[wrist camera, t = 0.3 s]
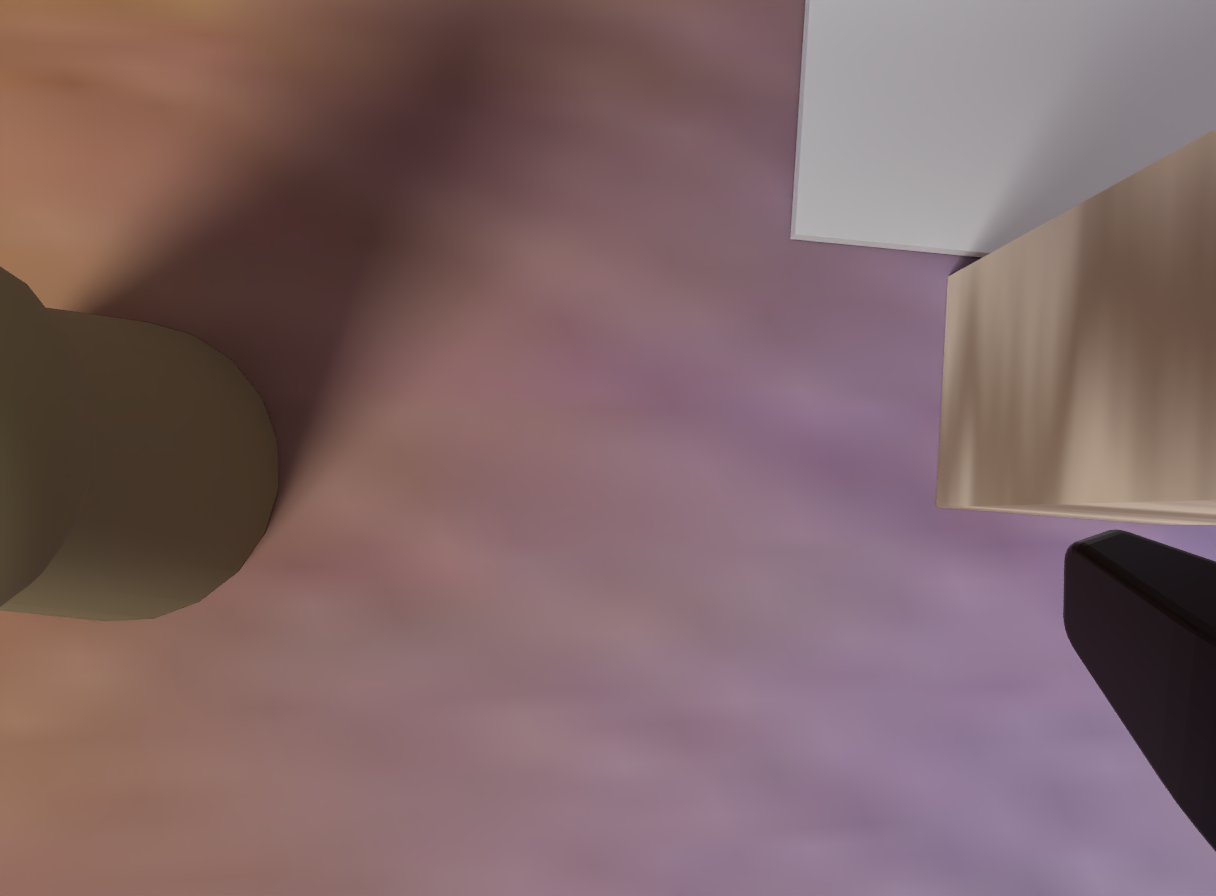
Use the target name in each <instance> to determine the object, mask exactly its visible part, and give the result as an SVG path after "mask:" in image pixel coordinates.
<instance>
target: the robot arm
mask: <svg viewBox="0 0 1216 896" xmlns="http://www.w3.org/2000/svg"><path fill="white" fill-rule="evenodd" d="M1063 618H1064V625H1065V630H1066V633H1067V636H1068V638H1069V640H1070V642H1071V644H1072V646H1073V648H1074V650H1075V651H1076V653H1077V654H1078V656H1079V657H1080V659H1081V660H1082V662H1083V663H1084V665H1085V666H1086V668H1087V669H1088V671H1089V672H1090V674H1091V675H1092V677H1093V678H1094V680H1095V681H1096V683H1097V684H1098V686H1099V688H1100V689H1101V691H1102V692H1103V694H1104V695H1105V697H1106V698H1107V700H1108V701H1109V703H1110V704H1111V706H1112V707H1113V709H1114V710H1115V712H1116V713H1117V715H1118V716H1119V718H1120V719H1121V721H1122V722H1123V724H1124V725H1125V727H1126V728H1127V730H1128V731H1129V733H1130V734H1131V736H1132V737H1133V739H1134V740H1135V742H1136V743H1137V745H1138V747H1139V748H1140V750H1141V751H1142V753H1143V754H1144V756H1145V757H1146V759H1147V760H1148V762H1149V763H1150V765H1151V766H1152V768H1153V769H1154V771H1155V772H1156V774H1157V775H1158V777H1159V778H1160V780H1161V781H1162V783H1163V784H1164V785H1165V787H1166V788H1167V790H1168V791H1169V793H1170V794H1171V795H1172V797H1173V798H1174V800H1175V801H1176V803H1177V804H1178V805H1179V806H1180V808H1181V809H1182V810H1183V812H1184V813H1185V814H1186V815H1187V817H1188V818H1189V819H1190V821H1191V822H1192V823H1193V824H1194V826H1195V827H1196V828H1197V829H1198V831H1199V832H1200V833H1201V834H1202V836H1203V837H1204V838H1205V839H1206V840H1207V842H1208V843H1209V844H1210V845H1211V846H1212V848H1213V849H1214V850H1215V851H1216V562H1215V561H1212V560H1209V559H1206V558H1203V557H1200V556H1197V555H1194V554H1191V553H1188V552H1186V551H1183V550H1180V549H1177V548H1174V547H1171V546H1168V545H1165V544H1162V543H1159V542H1156V541H1153V540H1150V539H1147V538H1144V537H1141V536H1138V535H1136V534H1133V533H1130V532H1126V531H1122V530H1109V531H1106V532H1103V533H1100V534H1097V535H1094V536H1091V537H1088V538H1086V539H1083V540H1080V541H1077V542H1074V543H1073V544H1072V545H1070V546H1069V548H1068V549H1067V552H1066V554H1065V560H1064V609H1063Z"/></svg>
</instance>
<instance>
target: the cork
mask: <svg viewBox="0 0 1216 896" xmlns="http://www.w3.org/2000/svg"><path fill="white" fill-rule="evenodd" d="M278 488H279V479H278V442H277V438H276V436H275V433H274V430H273V427H272V425H271V422H270V419H269V416H268V414H267V411H266V408H265V405H264V403H263V400H262V397H261V396H260V395H259V394H258V392H257V391H256V390H255V389H254V387H253V386H252V385H251V384H250V382H249V381H248V380H247V378H246V377H245V376H244V375H243V373H242V372H241V371H240V370H239V368H238V367H237V366H236V365H235V363H234V362H233V361H232V360H230V359H229V358H227V357H226V356H224V355H223V354H221V353H220V352H218V351H217V350H215V349H214V348H212V347H211V346H209V345H208V344H206V343H205V342H203V341H202V340H200V339H199V338H197V337H195V336H194V335H191V334H188V333H184V332H181V331H177V330H173V329H170V328H166V327H163V326H159V325H156V324H152V323H149V322H143V321H136V320H129V319H122V318H115V317H108V316H101V315H94V314H87V313H80V312H73V311H66V310H59V309H52V308H45V306H44V305H43V304H42V303H41V301H40V300H39V299H38V298H37V296H36V295H35V294H34V293H33V291H32V290H31V289H30V288H29V286H28V285H27V284H26V283H24V282H23V281H21V280H20V279H18V278H17V277H15V276H14V275H12V274H11V273H9V272H8V271H6V270H5V269H3V268H1V267H0V610H2V611H12V612H21V613H31V614H40V615H50V616H59V617H69V618H78V619H88V620H98V621H118V620H137V619H154V618H157V617H159V616H162V615H165V614H167V613H170V612H173V611H175V610H178V609H181V608H184V607H186V606H189V605H192V604H194V603H197V602H200V601H201V600H202V599H203V598H205V597H206V596H207V595H209V594H210V593H211V592H213V591H214V590H215V589H216V588H218V587H219V586H220V585H222V584H223V583H224V582H225V581H227V580H228V579H229V578H231V577H232V576H233V575H235V574H236V573H237V572H238V571H239V570H240V568H241V567H242V565H243V564H244V562H245V561H246V559H247V558H248V557H249V555H250V554H251V552H252V551H253V549H254V548H255V546H256V545H257V544H258V542H259V541H260V539H261V538H262V536H263V535H264V533H265V531H266V528H267V525H268V521H269V518H270V515H271V511H272V508H273V505H274V501H275V498H276V495H277V492H278Z"/></svg>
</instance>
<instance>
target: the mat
mask: <svg viewBox="0 0 1216 896" xmlns="http://www.w3.org/2000/svg"><path fill="white" fill-rule="evenodd" d="M1214 129H1216V0H806V1H805V16H804V32H803V48H802V64H801V80H800V96H799V112H798V128H797V144H796V159H795V175H794V191H793V207H792V223H791V239H796V240H806V241H817V242H827V243H837V244H848V245H858V246H869V247H879V248H889V249H900V250H910V251H921V252H931V253H941V254H952V255H962V256H972V257H984V256H986V255H988V254H990V253H992V252H993V251H995V250H997V249H999V248H1001V247H1003V246H1004V245H1006V244H1008V243H1010V242H1012V241H1013V240H1015V239H1017V238H1019V237H1021V236H1022V235H1024V234H1026V233H1028V232H1030V231H1031V230H1033V229H1035V228H1037V227H1039V226H1040V225H1042V224H1044V223H1046V222H1048V221H1050V220H1051V219H1053V218H1055V217H1057V216H1059V215H1060V214H1062V213H1064V212H1066V211H1068V210H1069V209H1071V208H1073V207H1075V206H1077V205H1078V204H1080V203H1082V202H1084V201H1086V200H1087V199H1089V198H1091V197H1093V196H1095V195H1096V194H1098V193H1100V192H1102V191H1104V190H1106V189H1107V188H1109V187H1111V186H1113V185H1115V184H1116V183H1118V182H1120V181H1122V180H1124V179H1125V178H1127V177H1129V176H1131V175H1133V174H1134V173H1136V172H1138V171H1140V170H1142V169H1143V168H1145V167H1147V166H1149V165H1151V164H1153V163H1154V162H1156V161H1158V160H1160V159H1162V158H1163V157H1165V156H1167V155H1169V154H1171V153H1172V152H1174V151H1176V150H1178V149H1180V148H1181V147H1183V146H1185V145H1187V144H1189V143H1190V142H1192V141H1194V140H1196V139H1198V138H1200V137H1201V136H1203V135H1205V134H1207V133H1209V132H1210V131H1212V130H1214Z"/></svg>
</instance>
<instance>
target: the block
mask: <svg viewBox="0 0 1216 896" xmlns="http://www.w3.org/2000/svg"><path fill="white" fill-rule="evenodd" d="M936 507H940V508H953V509H966V510H979V511H992V512H1005V513H1018V514H1031V515H1044V516H1057V517H1070V518H1083V519H1096V520H1109V521H1122V522H1135V523H1148V524H1179V525H1216V129H1214V130H1212V131H1210V132H1209V133H1207V134H1205V135H1203V136H1201V137H1200V138H1198V139H1196V140H1194V141H1192V142H1190V143H1189V144H1187V145H1185V146H1183V147H1181V148H1180V149H1178V150H1176V151H1174V152H1172V153H1171V154H1169V155H1167V156H1165V157H1163V158H1162V159H1160V160H1158V161H1156V162H1154V163H1153V164H1151V165H1149V166H1147V167H1145V168H1143V169H1142V170H1140V171H1138V172H1136V173H1134V174H1133V175H1131V176H1129V177H1127V178H1125V179H1124V180H1122V181H1120V182H1118V183H1116V184H1115V185H1113V186H1111V187H1109V188H1107V189H1106V190H1104V191H1102V192H1100V193H1098V194H1096V195H1095V196H1093V197H1091V198H1089V199H1087V200H1086V201H1084V202H1082V203H1080V204H1078V205H1077V206H1075V207H1073V208H1071V209H1069V210H1068V211H1066V212H1064V213H1062V214H1060V215H1059V216H1057V217H1055V218H1053V219H1051V220H1050V221H1048V222H1046V223H1044V224H1042V225H1040V226H1039V227H1037V228H1035V229H1033V230H1031V231H1030V232H1028V233H1026V234H1024V235H1022V236H1021V237H1019V238H1017V239H1015V240H1013V241H1012V242H1010V243H1008V244H1006V245H1004V246H1003V247H1001V248H999V249H997V250H995V251H993V252H992V253H990V254H988V255H986V256H984V257H983V258H981V259H979V260H977V261H975V262H974V263H972V264H970V265H968V266H966V267H965V268H963V269H961V270H959V271H957V272H956V273H954V274H952V275H950V276H948V287H947V306H946V325H945V344H944V363H943V382H942V401H941V420H940V439H939V458H938V477H937V496H936Z"/></svg>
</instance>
